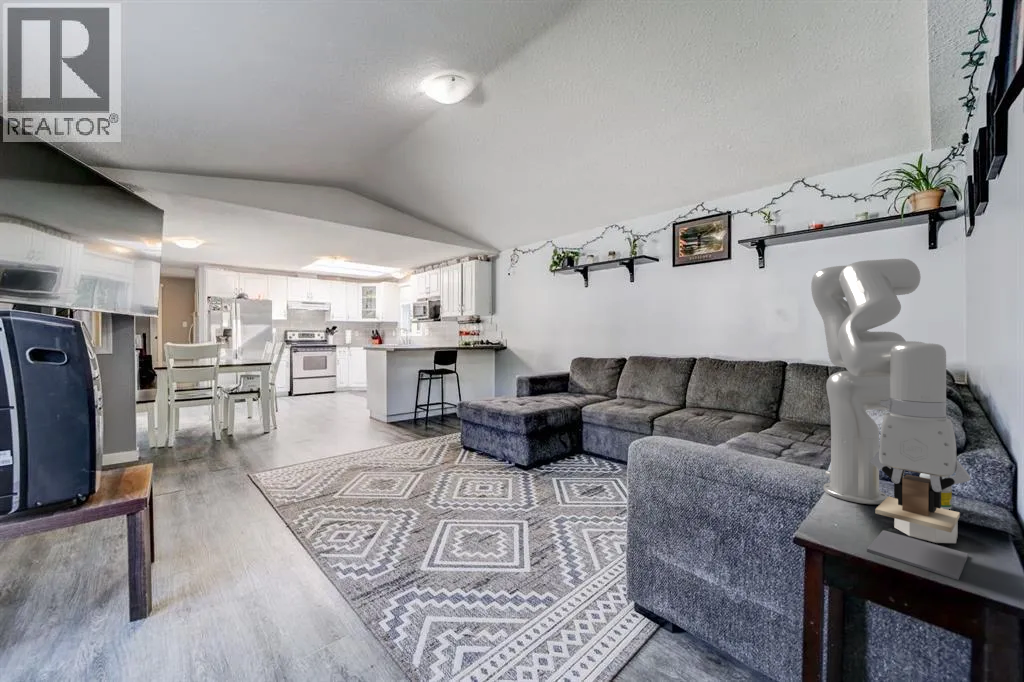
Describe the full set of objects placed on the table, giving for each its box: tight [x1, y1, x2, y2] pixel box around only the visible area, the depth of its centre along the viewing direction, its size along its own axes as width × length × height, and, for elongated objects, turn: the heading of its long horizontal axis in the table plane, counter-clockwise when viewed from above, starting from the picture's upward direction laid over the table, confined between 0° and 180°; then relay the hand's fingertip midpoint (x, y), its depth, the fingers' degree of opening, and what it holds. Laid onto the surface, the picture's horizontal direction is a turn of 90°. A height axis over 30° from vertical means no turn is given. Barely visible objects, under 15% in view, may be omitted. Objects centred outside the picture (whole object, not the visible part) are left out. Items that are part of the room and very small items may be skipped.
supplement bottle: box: [919, 473, 953, 510], centre depth 100 cm, size 5×5×10 cm
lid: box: [874, 474, 961, 532], centre depth 79 cm, size 10×10×7 cm
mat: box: [866, 529, 969, 581], centre depth 79 cm, size 12×12×1 cm
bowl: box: [893, 508, 959, 544], centre depth 87 cm, size 9×9×4 cm
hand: (917, 506), depth 79 cm, fingers closed on lid, 3 cm apart
